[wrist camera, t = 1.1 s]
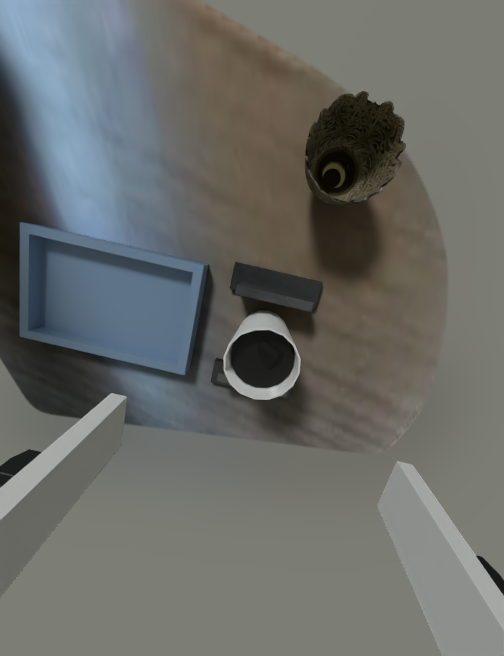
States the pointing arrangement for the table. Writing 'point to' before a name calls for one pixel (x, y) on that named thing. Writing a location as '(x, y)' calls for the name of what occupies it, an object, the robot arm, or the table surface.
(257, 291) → the bracket
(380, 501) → the robot arm
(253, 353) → the white tumbler
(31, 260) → the tray
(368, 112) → the cup
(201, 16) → the table surface
